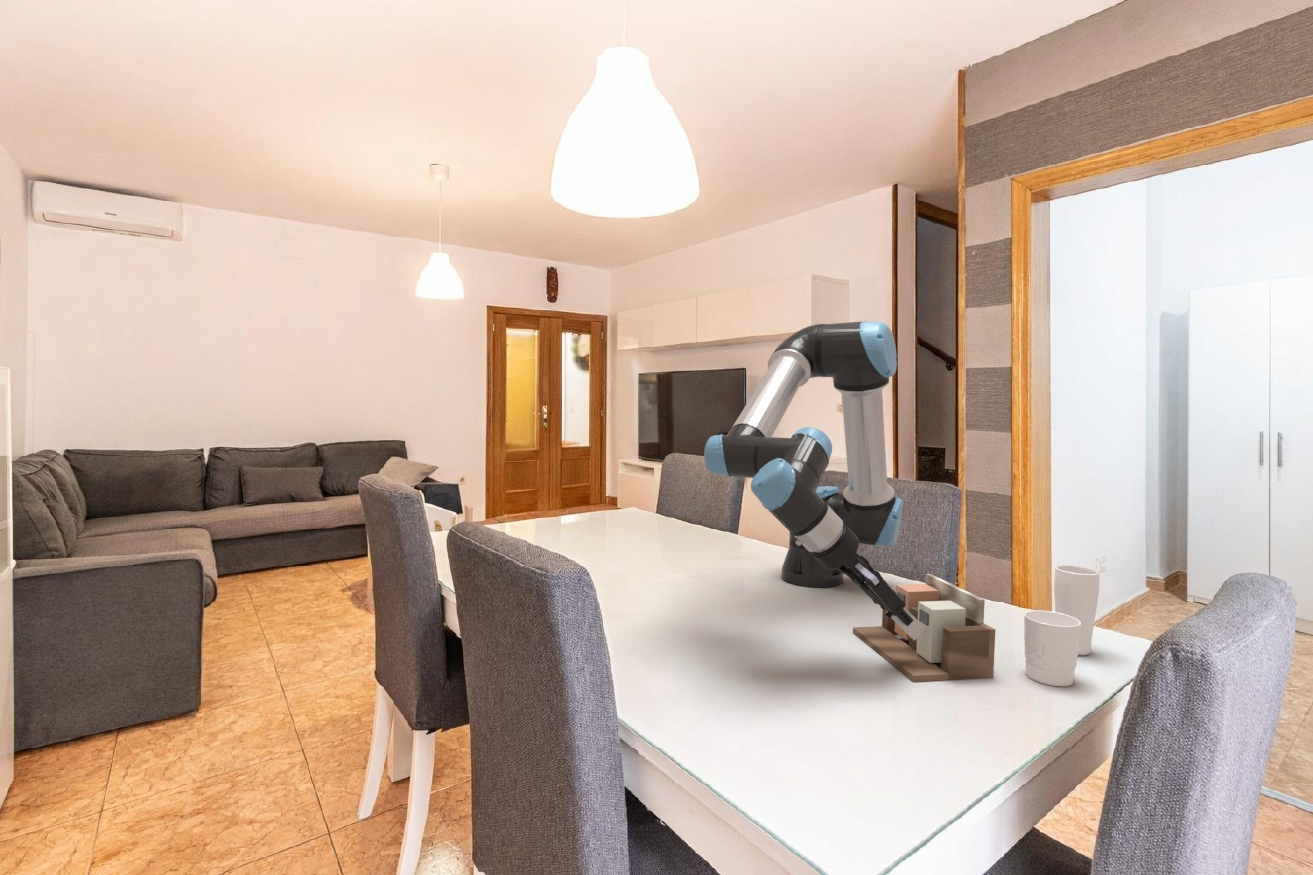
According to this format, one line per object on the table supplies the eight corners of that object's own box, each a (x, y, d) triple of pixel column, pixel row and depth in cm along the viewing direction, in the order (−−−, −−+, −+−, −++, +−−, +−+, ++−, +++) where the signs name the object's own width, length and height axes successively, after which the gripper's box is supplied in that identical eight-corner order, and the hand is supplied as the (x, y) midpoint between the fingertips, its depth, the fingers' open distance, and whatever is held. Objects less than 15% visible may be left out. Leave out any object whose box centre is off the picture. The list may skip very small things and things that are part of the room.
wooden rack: (852, 632, 125) (854, 571, 124) (920, 629, 127) (922, 569, 126) (913, 681, 103) (916, 608, 103) (993, 677, 105) (996, 605, 105)
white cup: (1086, 690, 101) (1090, 628, 100) (1031, 685, 102) (1034, 624, 102) (1065, 670, 109) (1068, 612, 108) (1014, 665, 110) (1017, 608, 110)
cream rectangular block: (914, 652, 112) (916, 601, 112) (948, 650, 113) (950, 600, 112) (928, 662, 108) (930, 610, 107) (963, 661, 109) (965, 608, 108)
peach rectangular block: (893, 631, 122) (894, 584, 122) (924, 630, 123) (925, 583, 123) (905, 640, 118) (906, 591, 117) (937, 638, 119) (939, 590, 118)
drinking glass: (1056, 640, 122) (1060, 562, 121) (1099, 651, 117) (1103, 569, 116) (1046, 650, 117) (1050, 569, 116) (1090, 661, 112) (1094, 576, 111)
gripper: (797, 545, 112) (884, 635, 116) (826, 564, 99) (923, 664, 103) (827, 514, 113) (912, 605, 116) (860, 529, 100) (956, 631, 103)
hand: (917, 633), depth 109 cm, fingers closed
